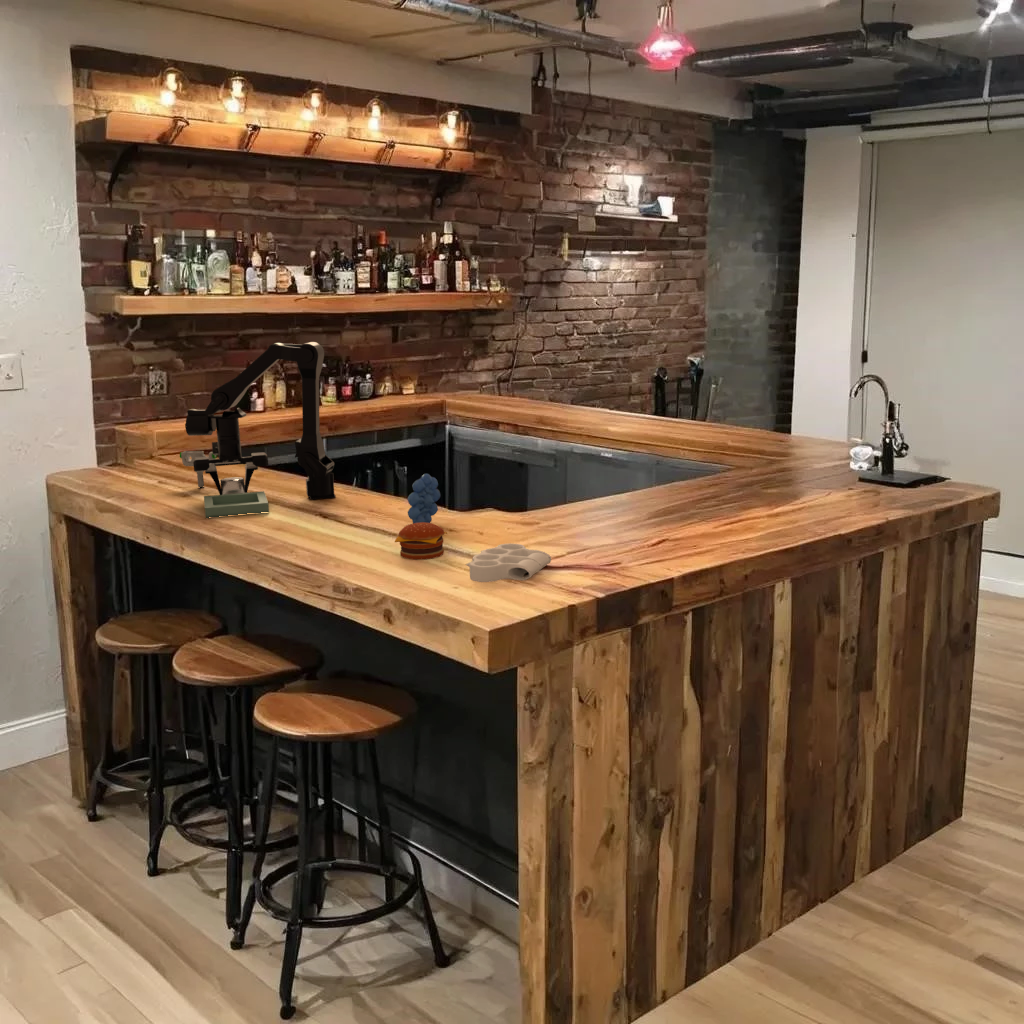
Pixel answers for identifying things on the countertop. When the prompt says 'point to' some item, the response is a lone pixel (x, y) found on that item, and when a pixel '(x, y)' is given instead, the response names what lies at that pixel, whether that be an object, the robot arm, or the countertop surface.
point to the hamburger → (421, 541)
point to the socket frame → (235, 504)
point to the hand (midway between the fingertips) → (233, 494)
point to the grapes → (423, 499)
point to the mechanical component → (189, 462)
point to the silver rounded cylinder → (232, 485)
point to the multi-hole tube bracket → (507, 563)
